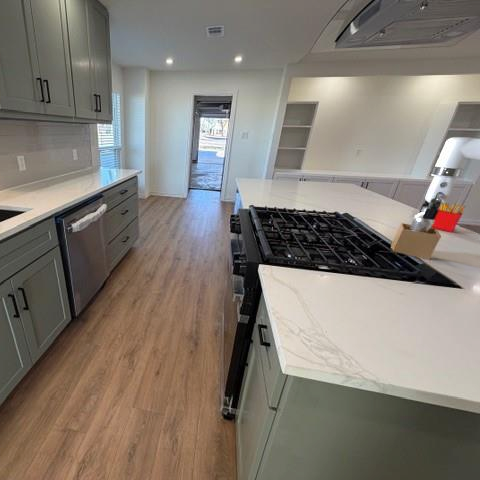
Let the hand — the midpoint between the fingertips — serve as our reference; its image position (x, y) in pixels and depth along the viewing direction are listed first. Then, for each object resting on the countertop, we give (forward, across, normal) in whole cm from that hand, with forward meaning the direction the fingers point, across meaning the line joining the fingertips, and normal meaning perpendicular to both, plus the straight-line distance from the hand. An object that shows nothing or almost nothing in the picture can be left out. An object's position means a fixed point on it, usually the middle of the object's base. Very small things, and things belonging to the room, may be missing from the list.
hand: (426, 216), depth 101 cm
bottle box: (+17, 0, 0) cm, 17 cm away
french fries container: (+17, +58, -18) cm, 63 cm away
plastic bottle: (+17, 0, 0) cm, 17 cm away
